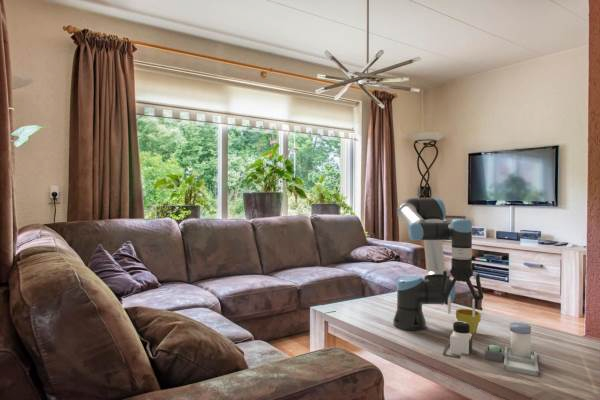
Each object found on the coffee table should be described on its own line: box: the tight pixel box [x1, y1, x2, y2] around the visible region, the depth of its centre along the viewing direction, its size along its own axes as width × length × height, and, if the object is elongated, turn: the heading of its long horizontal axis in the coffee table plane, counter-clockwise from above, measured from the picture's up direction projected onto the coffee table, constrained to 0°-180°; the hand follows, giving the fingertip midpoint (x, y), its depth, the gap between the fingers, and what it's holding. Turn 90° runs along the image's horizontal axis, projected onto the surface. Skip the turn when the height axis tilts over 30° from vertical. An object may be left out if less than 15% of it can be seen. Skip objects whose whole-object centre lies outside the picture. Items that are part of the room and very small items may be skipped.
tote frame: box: [442, 343, 461, 359], centre depth 157 cm, size 13×13×1 cm
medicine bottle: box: [449, 320, 473, 357], centre depth 157 cm, size 7×7×12 cm
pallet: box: [484, 345, 540, 377], centre depth 146 cm, size 18×22×4 cm
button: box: [488, 344, 501, 352], centre depth 149 cm, size 4×4×3 cm
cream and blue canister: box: [509, 322, 532, 359], centre depth 149 cm, size 7×7×12 cm
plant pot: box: [455, 308, 482, 334], centre depth 179 cm, size 10×10×10 cm
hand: (461, 314), depth 157 cm, fingers open, 8 cm apart
